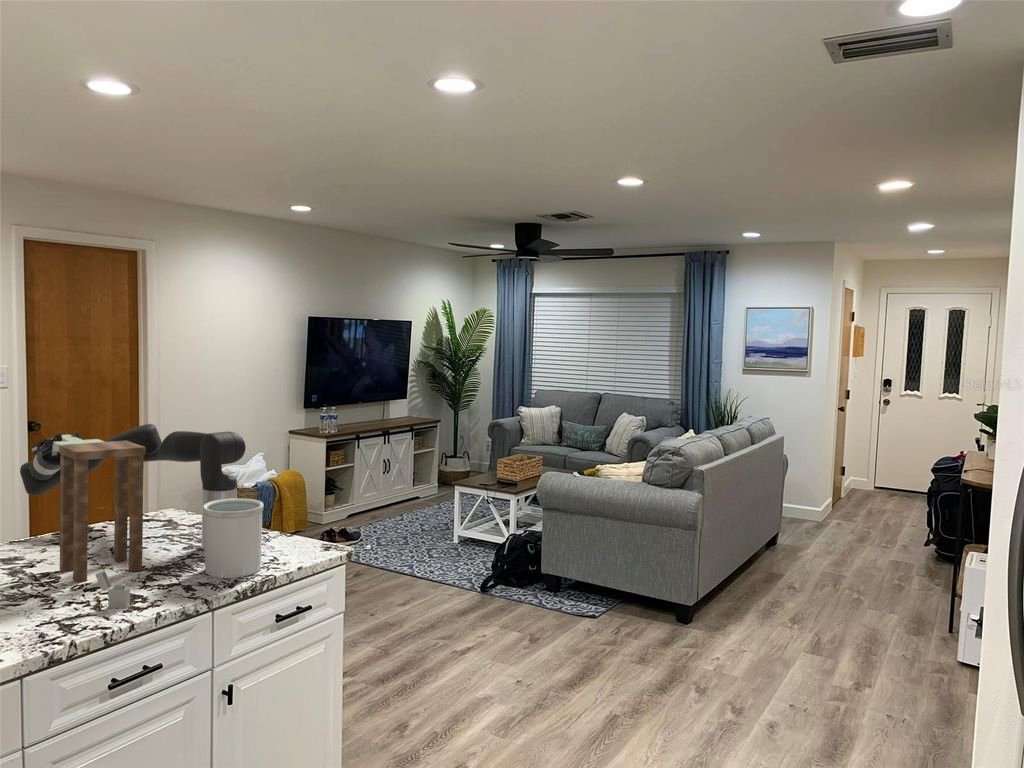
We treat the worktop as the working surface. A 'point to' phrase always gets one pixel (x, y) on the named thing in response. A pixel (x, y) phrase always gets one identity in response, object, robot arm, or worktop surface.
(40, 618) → the worktop surface
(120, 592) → the lighter
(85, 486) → the stool
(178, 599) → the worktop surface
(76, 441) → the green block
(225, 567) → the utensil holder
